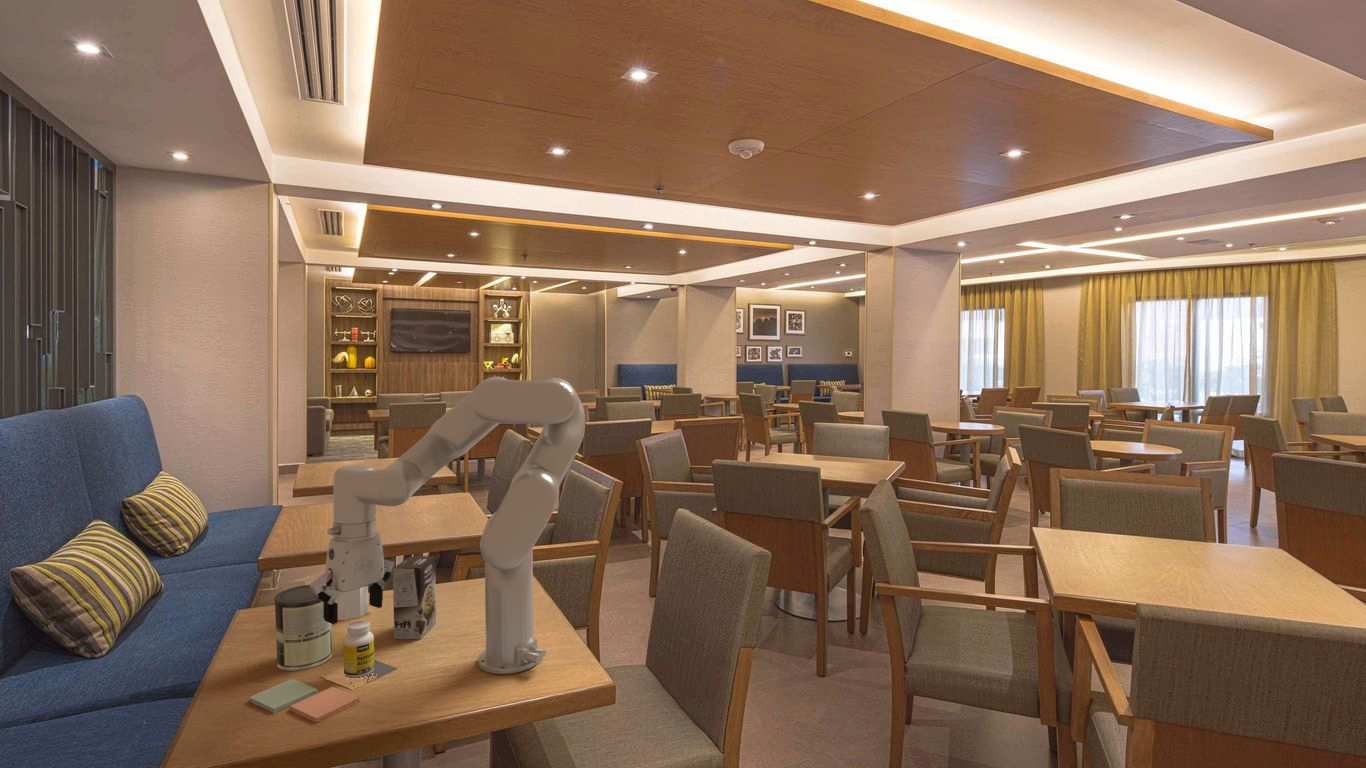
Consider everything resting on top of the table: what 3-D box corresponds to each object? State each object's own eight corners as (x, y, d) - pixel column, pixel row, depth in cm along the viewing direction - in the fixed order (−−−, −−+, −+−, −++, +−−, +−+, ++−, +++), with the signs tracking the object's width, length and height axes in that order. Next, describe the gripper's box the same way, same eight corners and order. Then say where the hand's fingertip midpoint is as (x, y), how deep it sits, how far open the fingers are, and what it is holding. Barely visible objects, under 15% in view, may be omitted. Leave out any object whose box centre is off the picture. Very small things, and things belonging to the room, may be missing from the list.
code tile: (397, 670, 138) (397, 668, 138) (352, 692, 129) (352, 689, 129) (366, 658, 143) (366, 656, 143) (320, 678, 134) (320, 676, 134)
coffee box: (421, 639, 151) (420, 568, 150) (393, 639, 151) (391, 567, 151) (437, 623, 160) (436, 555, 160) (410, 622, 161) (408, 555, 160)
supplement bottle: (357, 681, 132) (356, 632, 132) (338, 675, 135) (336, 627, 134) (380, 669, 137) (379, 621, 137) (361, 664, 140) (360, 617, 139)
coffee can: (264, 667, 138) (261, 598, 138) (306, 645, 148) (304, 581, 147) (304, 674, 135) (301, 604, 134) (344, 652, 145) (342, 587, 144)
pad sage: (317, 693, 128) (317, 689, 128) (274, 713, 121) (273, 708, 121) (292, 682, 132) (292, 678, 132) (249, 701, 125) (249, 697, 125)
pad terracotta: (359, 702, 125) (359, 697, 125) (317, 722, 118) (316, 718, 118) (332, 690, 129) (332, 686, 129) (290, 710, 122) (290, 706, 122)
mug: (326, 622, 161) (325, 581, 160) (334, 608, 169) (333, 569, 168) (382, 616, 164) (381, 576, 163) (387, 603, 172) (386, 565, 172)
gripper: (324, 542, 125) (323, 633, 126) (404, 522, 140) (403, 604, 141) (300, 535, 129) (299, 624, 130) (381, 517, 144) (380, 597, 145)
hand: (353, 614), depth 135 cm, fingers open, 9 cm apart
